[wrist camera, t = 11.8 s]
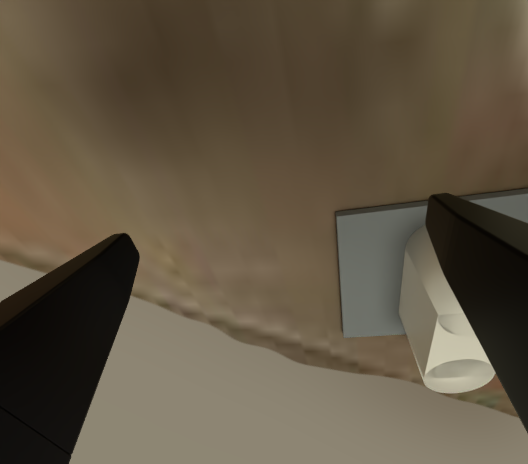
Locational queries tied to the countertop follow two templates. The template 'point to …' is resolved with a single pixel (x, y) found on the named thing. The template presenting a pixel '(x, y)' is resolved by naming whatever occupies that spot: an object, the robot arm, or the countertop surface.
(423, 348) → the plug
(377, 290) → the mat
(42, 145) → the countertop surface
